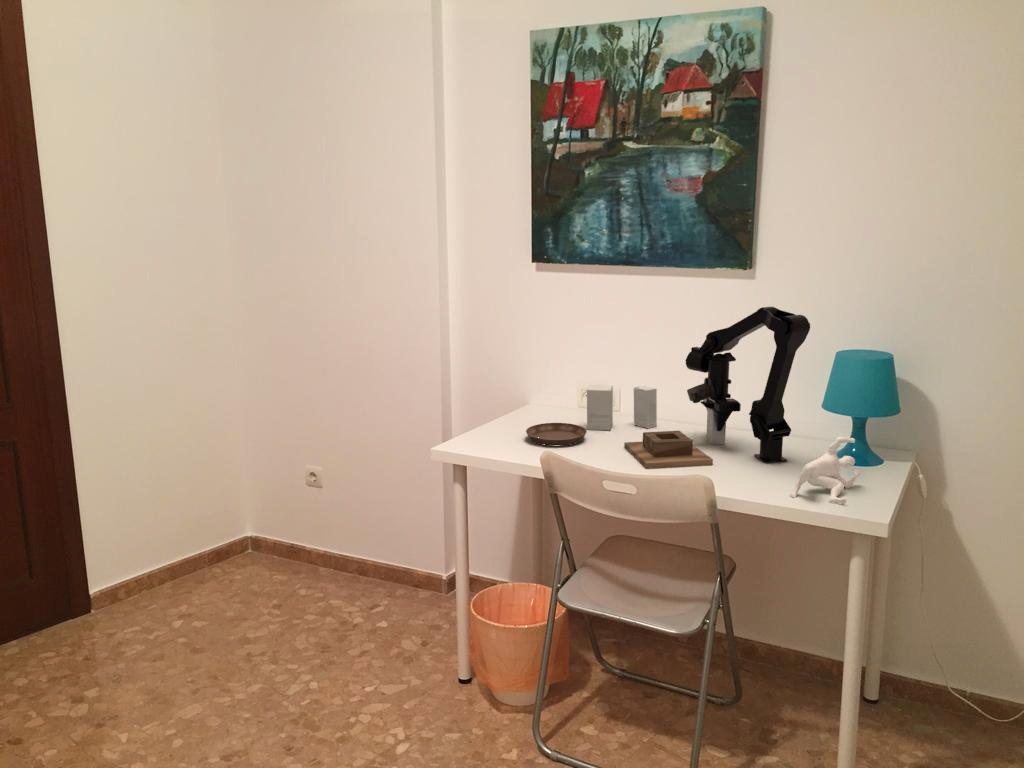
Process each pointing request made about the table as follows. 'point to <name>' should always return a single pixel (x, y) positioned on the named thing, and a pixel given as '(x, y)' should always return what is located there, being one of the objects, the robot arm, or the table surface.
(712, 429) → the steel peg
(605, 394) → the supplement box
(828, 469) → the person figurine
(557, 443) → the plant saucer
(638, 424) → the skincare box
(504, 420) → the table surface
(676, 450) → the socket block
